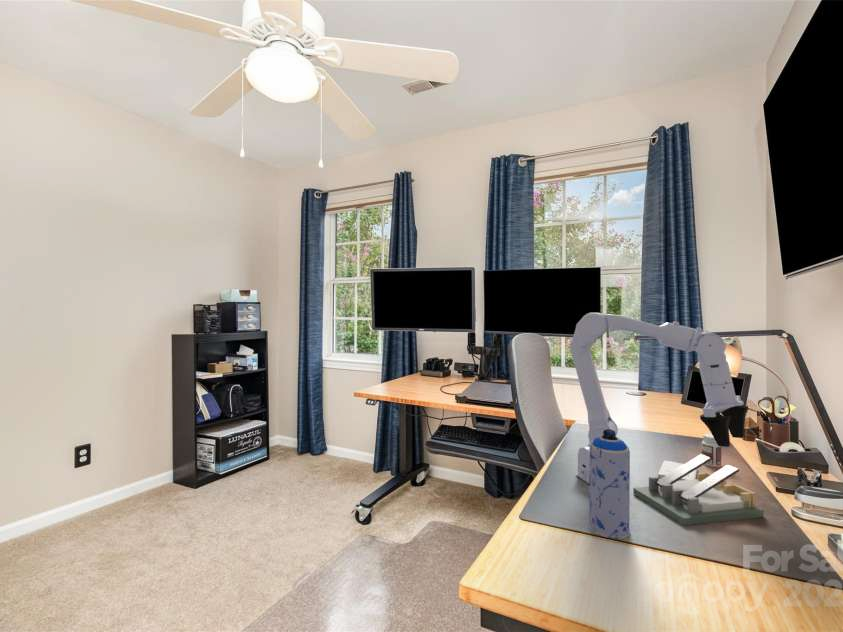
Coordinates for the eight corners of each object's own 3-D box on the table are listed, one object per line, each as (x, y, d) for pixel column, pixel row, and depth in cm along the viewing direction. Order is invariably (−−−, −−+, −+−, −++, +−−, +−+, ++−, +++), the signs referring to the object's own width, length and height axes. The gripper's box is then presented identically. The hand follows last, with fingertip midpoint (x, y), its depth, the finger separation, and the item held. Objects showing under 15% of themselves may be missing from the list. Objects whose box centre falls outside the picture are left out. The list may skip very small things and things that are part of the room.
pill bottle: (716, 462, 121) (717, 434, 121) (724, 468, 116) (724, 438, 116) (698, 460, 122) (698, 432, 122) (705, 466, 117) (705, 437, 117)
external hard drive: (697, 472, 115) (694, 487, 105) (663, 465, 120) (657, 479, 110) (697, 466, 115) (694, 480, 105) (663, 460, 120) (657, 473, 110)
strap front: (689, 502, 88) (688, 500, 88) (680, 497, 90) (679, 495, 90) (739, 471, 90) (738, 468, 90) (728, 466, 93) (727, 464, 93)
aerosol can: (594, 514, 89) (595, 423, 89) (634, 527, 84) (635, 430, 84) (582, 529, 83) (583, 431, 83) (624, 543, 78) (625, 439, 78)
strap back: (664, 488, 95) (663, 486, 95) (656, 484, 97) (655, 482, 97) (711, 459, 97) (710, 457, 97) (701, 456, 100) (700, 453, 100)
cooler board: (684, 525, 85) (684, 504, 84) (633, 494, 99) (633, 475, 99) (763, 516, 88) (763, 496, 88) (703, 487, 103) (703, 469, 103)
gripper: (722, 388, 88) (738, 452, 87) (750, 376, 96) (764, 435, 95) (688, 389, 94) (701, 448, 93) (716, 377, 102) (729, 432, 101)
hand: (731, 441), depth 94 cm, fingers open, 7 cm apart
